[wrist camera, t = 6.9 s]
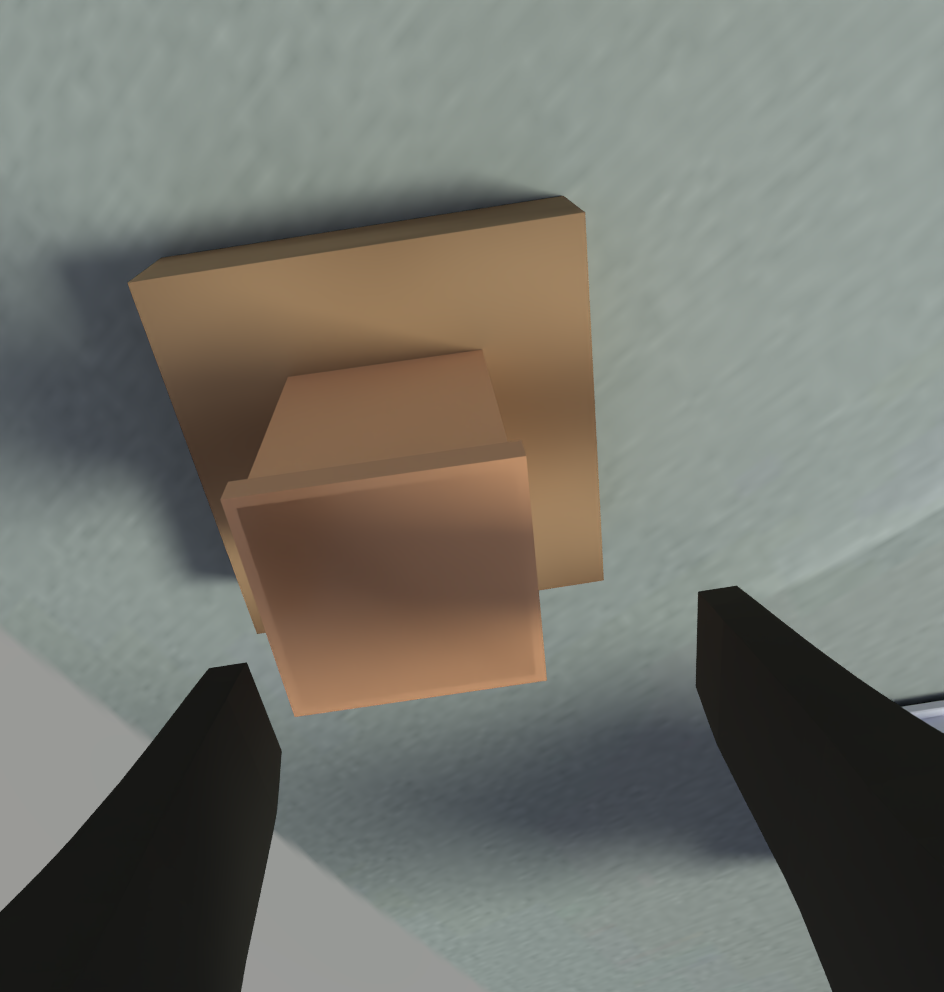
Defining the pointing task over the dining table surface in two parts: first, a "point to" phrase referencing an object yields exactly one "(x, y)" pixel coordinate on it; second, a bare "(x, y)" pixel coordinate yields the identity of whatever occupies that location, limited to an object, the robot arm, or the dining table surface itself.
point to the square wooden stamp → (391, 537)
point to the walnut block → (394, 345)
